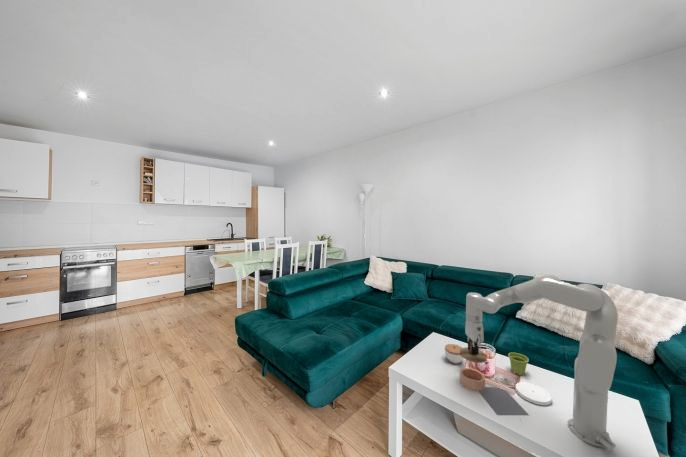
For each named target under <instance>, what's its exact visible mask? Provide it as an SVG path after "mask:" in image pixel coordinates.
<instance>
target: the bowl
mask: <svg viewBox="0 0 686 457" xmlns="http://www.w3.org/2000/svg"><path fill="white" fill-rule="evenodd" d="M459 382H460V384H461V385H462V386H463V387H465V388H466V389H468V390H470V391H474V392H479V391H482V390H483V389H485V387H486V376H485V375H484V373H483V372H481V371H479V370H478V369H474V368H471V367H462V368H461V369H460V372H459Z"/></svg>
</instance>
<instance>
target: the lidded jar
mask: <svg viewBox="0 0 686 457" xmlns="http://www.w3.org/2000/svg"><path fill="white" fill-rule="evenodd" d="M461 348H463V347H462V346H460V345H458V344H454V343H448V344H445V346H444V354H445V357H446V359H447V360H448V361H449V362H450V363H451V364H454V365H457V364H460V363H461V362H462V361H464V360H463V359H464V358H463V357H462V356H461V355H460V349H461Z"/></svg>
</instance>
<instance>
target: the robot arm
mask: <svg viewBox="0 0 686 457" xmlns="http://www.w3.org/2000/svg"><path fill="white" fill-rule="evenodd" d="M542 299H545V300H548V301H550V302H553V303H557V304H560V305H563V306H566V307H569V308H572V309H575V310H577V311H582V312H586V314H585V318H584V320H585V321H584V327H583V330H582V333H581V336H580V339H579V350H578V354H577V356H576V358H575V360H574V367H573V368H574V369H573V370H574V378H573V379H574V380H573V399H572V400H573V402H572V403H573V404H572V405H573V407H572V418H569V419H568V420H567V424H566V425H567V428H568V429H569V431H570V432H571V433H572V434H573V435H574V436H576V437H577V438H578V439H580V440H581V441H583V442H585V443H587V444H590V445H591V446H594V447H598V448H602V449H607V450H608V451H609V452H612V451H613V450H614V448H616V443H615V442H614V441H612V438H611V437H610V433H609V432H608V431H607V426H608V425H607V423H608V421H607V419H608V402H609V390H610V388H611V387H612V384H613V380H614V374H615V370H616V366H617V360H618V356H617V349H616V346H615V339H616V335H617V325H618V321H619V319H618V316H619V315H618V309H617V307H616V304H615V302H614V300H613V299H612V298H611V296H609V295H608V294H607V293H606V292H605V291H604V290H602V289H601V288H599V287H598V286H596V285H594V284H592V283H591V284H590V283H579V284H577V285H572V284H568V283H565V282H562V281H561V279H560V278H559V277H557V276H555V275H552V274H545V275H541V276H538V277H536V278H532V279H530V280H527V281H524V282H522V283H519V284H516V285H513V286H510V287H506V288H504V289H500V290H497V291H495V292H492V293H490V294H488V295H486V296H483V295H482V294H480V293H478V292H468V293H467V294H466V299H465V302H466V303H465V326H464V328H465V329H464V330H465V332H464V334H465V335H466V337H467V347H468V350H470V341H471V340H472V341H473V346H472V354H479V350H480V349H479V348H480V347H482V343H484V341H485V340H484V339H485V338H484V337H485V336H484V324H483V312H484V313H487V314H495V313H497V312H498V311H499V310H500V309H501V308H502V307H505V306H509V305H512V304H516V303H518V304H519V303H521V304H529V303H533V302H536V301H538V300H542ZM475 342H477V343H476V344H475Z"/></svg>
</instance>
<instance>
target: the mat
mask: <svg viewBox="0 0 686 457" xmlns="http://www.w3.org/2000/svg"><path fill="white" fill-rule="evenodd" d="M497 387H498V386H494V387H493V386H485V389H483V390H482V391H478V393H479V394H480V395H481V397H482V398H483V399H484V400H485V402H486V403H487V404H488V406H489V407H490V408H491V409H492V410H493V412H494V413H495V414H496V416H530V415H529V413H528V412H527V411H526V410H525V409H524V408H523V407H522V406H521V404H519V403H518V402H517V400H516V399H514V397H513V396H512V395H511V394H510V393H509V392H508V390H506V389H505V390H506V391H505V390H503V389H500V388H497Z"/></svg>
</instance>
